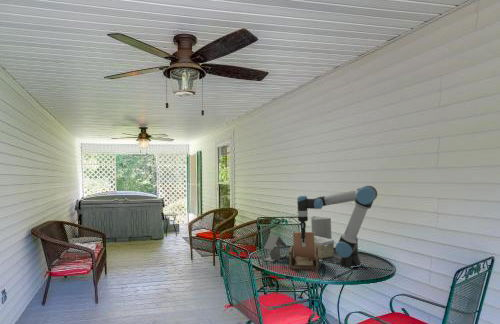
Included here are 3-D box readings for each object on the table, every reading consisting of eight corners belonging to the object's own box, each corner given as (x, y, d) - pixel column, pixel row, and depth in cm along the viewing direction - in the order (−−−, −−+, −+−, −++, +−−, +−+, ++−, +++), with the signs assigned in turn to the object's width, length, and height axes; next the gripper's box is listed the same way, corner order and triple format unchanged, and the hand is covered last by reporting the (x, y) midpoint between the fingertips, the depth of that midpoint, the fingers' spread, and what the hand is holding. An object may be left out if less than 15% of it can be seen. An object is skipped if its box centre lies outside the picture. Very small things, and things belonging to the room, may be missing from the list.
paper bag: (305, 248, 306) (304, 218, 306) (315, 245, 316) (314, 216, 316) (322, 251, 292) (321, 220, 292) (332, 248, 302) (331, 218, 302)
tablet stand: (273, 263, 265) (272, 238, 265) (264, 261, 271) (263, 236, 271) (286, 257, 278) (285, 234, 278) (277, 255, 285) (276, 232, 285)
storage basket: (301, 255, 285) (300, 238, 285) (315, 251, 294) (314, 235, 294) (321, 261, 265) (321, 242, 265) (335, 257, 274) (334, 239, 274)
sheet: (294, 262, 259) (293, 232, 259) (315, 263, 255) (313, 232, 256) (294, 263, 256) (293, 232, 257) (315, 264, 253) (313, 232, 253)
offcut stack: (295, 265, 251) (294, 256, 251) (313, 266, 248) (313, 256, 248) (294, 268, 245) (294, 258, 245) (313, 268, 242) (313, 259, 242)
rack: (291, 263, 262) (290, 245, 262) (318, 263, 258) (318, 246, 258) (289, 270, 244) (288, 251, 245) (318, 271, 240) (317, 252, 240)
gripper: (298, 213, 266) (299, 242, 266) (297, 218, 247) (298, 248, 247) (308, 213, 265) (309, 242, 265) (307, 217, 246) (308, 248, 246)
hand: (304, 245), depth 256 cm, fingers open, 6 cm apart
